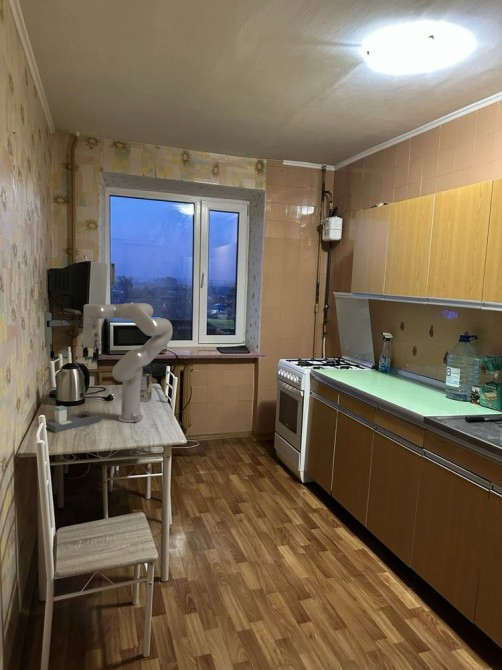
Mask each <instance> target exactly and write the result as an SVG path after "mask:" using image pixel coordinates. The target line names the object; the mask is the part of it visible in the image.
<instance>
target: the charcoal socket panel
mask: <svg viewBox="0 0 502 670" xmlns="http://www.w3.org/2000/svg"><path fill="white" fill-rule="evenodd" d="M100 422H101V416H100V415H98V414H95V413H92V412H89V411H82V412H78V413H72V414H69V415H68V414H67V421H65V422H61V423H59V424H58V423H56V422H55V417H54V418H49V419H46V425H47V428H48V429H50V430H49V431H51V430H52V431H51V432H53V431H54V432H53V433H55V432H56V433H60V432H63V430H64V431H67V429H69V430H72V429H71V428H73V429H76V427H77V428H80V427H85V426H89V425H92V424H97V423H100ZM48 429H47V430H48ZM59 431H60V432H59Z"/></svg>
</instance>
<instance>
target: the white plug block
mask: <svg viewBox="0 0 502 670" xmlns="http://www.w3.org/2000/svg"><path fill="white" fill-rule="evenodd" d="M67 411H68V407H67V406H64V405H59V406H54V418H55V422H56V423H58V424H59V423H61V422H65V421H67V415H68V414H67V413H68V412H67Z"/></svg>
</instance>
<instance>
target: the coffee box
mask: <svg viewBox="0 0 502 670" xmlns="http://www.w3.org/2000/svg"><path fill="white" fill-rule="evenodd" d="M152 392H153V374H152V373H143V372H142V377H141V386H140V403H141V402H143V403H148V402H149V401H150V400H152V394H153V393H152Z"/></svg>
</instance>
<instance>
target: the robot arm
mask: <svg viewBox="0 0 502 670" xmlns="http://www.w3.org/2000/svg"><path fill="white" fill-rule="evenodd" d="M153 315H154V308H153V306H152V305H151V304H149V303H147V302H145V303H144V302H139V303H138V302H137V303H136V302H135V303H133V302H130V303H128V302H127V303H125V302H124V303H123V304H121V303H119V304H113V303H112V304H111V303H110V304H96V303H86V304H84V305H83V333H82V340H81V341H80V345H81V350H82V358H87V357H89V349H92V351H93V352H92V360H99V359H100V358H99V357H100V351H101V347H102V344H101V338H100V330H99V320H103V319H123V320H124V321H125V320H127V321H129V320H131V321H132V323H133V324H135V326H136V327H137V328H138V329H139V330H140V331H141V332H142V333H144V334H145V336H149V337H150V338H149V339H148V340H147V341H146V342H145V343H144V344H143V345H142V346H140V347H138V348H134V349H131V350H129V351H128V352H126V353H125V354H124V355H123V356H122V357H121V358H120V359H119V360H118V362H117V363H116V364H115V365H114V366H113V368H112V373H111V375H112V377H113V379H114V380H115V381H117V382H119V383H120V382H122V386H121V412H120V415H119V416H118V417H117V418H118V421H120V422H123V423H137V422H140V421H142V420H143V418H144V415H143V414H142V413H141V402H140V386H141V377H142V373H143V367H145V366H148V365H149V364H150V363H151V362H152V361H153V360H154V359H155V358H156V357H157V356H158V355H159V354H160V353H161V352H162V351H163V350H164V349H165V348H166V347H167V345H168V344H169V343H170V341H172V337H173V324H172V323H171V321H170V320H169V319H166V318H163V317H160V318H159V317H158V318H152V316H153Z"/></svg>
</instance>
